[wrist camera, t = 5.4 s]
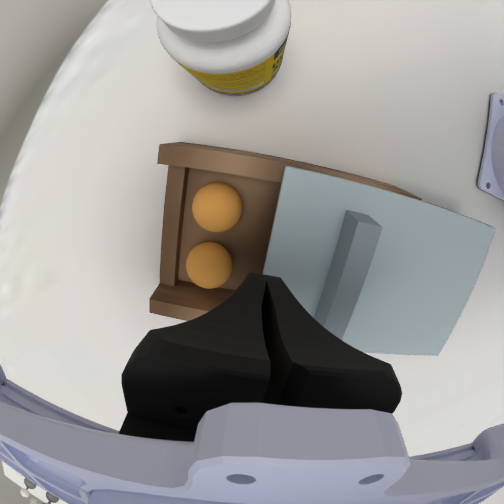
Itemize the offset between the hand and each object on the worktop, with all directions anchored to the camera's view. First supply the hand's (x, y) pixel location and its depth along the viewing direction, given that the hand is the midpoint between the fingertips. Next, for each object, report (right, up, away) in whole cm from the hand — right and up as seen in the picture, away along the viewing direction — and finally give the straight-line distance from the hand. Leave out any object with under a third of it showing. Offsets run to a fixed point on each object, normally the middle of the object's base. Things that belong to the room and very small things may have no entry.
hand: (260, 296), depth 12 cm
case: (+1, +3, +7) cm, 8 cm away
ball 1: (-2, +5, +6) cm, 8 cm away
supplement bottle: (-1, +14, +3) cm, 14 cm away
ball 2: (-3, +1, +7) cm, 8 cm away
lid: (+7, 0, +4) cm, 8 cm away
